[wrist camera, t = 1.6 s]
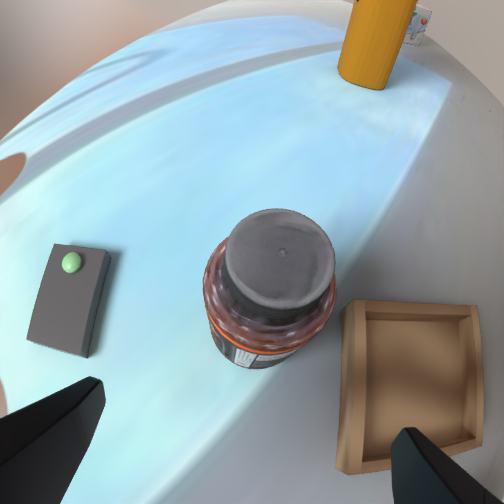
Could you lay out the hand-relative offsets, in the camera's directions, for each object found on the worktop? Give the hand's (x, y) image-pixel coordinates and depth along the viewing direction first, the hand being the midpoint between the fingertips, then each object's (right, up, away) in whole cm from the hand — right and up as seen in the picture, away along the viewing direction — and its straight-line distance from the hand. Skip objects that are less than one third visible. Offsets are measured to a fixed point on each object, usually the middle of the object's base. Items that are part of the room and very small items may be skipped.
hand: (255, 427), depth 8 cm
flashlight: (+16, +31, +31) cm, 47 cm away
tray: (+12, -5, +12) cm, 17 cm away
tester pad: (-14, +1, +13) cm, 19 cm away
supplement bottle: (0, 0, +13) cm, 13 cm away
